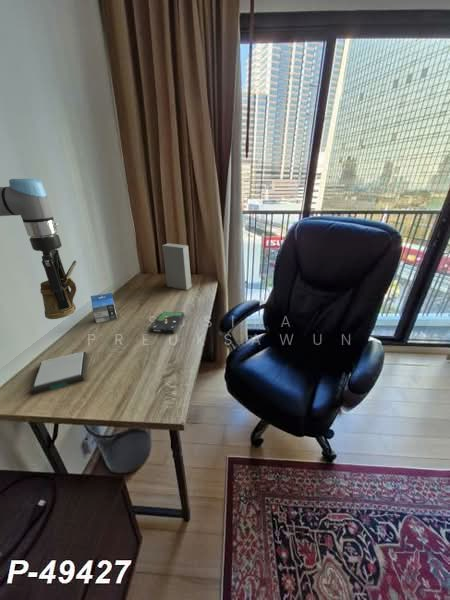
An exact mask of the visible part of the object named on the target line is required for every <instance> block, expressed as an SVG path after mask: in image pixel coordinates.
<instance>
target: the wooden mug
mask: <svg viewBox="0 0 450 600" xmlns="http://www.w3.org/2000/svg"><path fill="white" fill-rule="evenodd" d="M76 265H77V260H76V259H75V260H74V261H73V262H72V264H70V267H69V268H68V269H67V271H66V273H65V274H66V275H65V277H64V279H60V280H61V284H62V288H63V289H64V291H65V294H66V297H67V300H68V303H69V306H70V307H69V308H65V309H60V308H59V305H58V302H57V299H56V297H55V294H54V292H50V290H51V288H50V285H49V281H48V280H44V281H42V282H41V283H40V289H39V290H40V291H39V292H40V294H41V296H42V302H43V308H44V318H46V319H48V320H57V319H58V320H59V319H64V318H66V317H69V316H71V315H72V314H73V313H74V312H75V311H76V309H77V307H76V304H75V303H74V298H75V296H76V293H77V285H76V283H75V282H74V280H73V279H72V278H71V275H72V274H73V271H74V269H75V267H76ZM66 286H68V287H69V289H70V290H69V291H70V292H69V293H67V291H66V289H67V287H66Z"/></svg>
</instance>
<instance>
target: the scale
mask: <svg viewBox="0 0 450 600" xmlns="http://www.w3.org/2000/svg"><path fill="white" fill-rule="evenodd" d="M87 356H88V355H87V352H86V351H79V352H74V353H71V354H66V355H62V356H58V357H53V358H49V359H45V360H42V361H41V362H40V363H39V366H38V368H37V371H36V374H35V377H34V380H33V383H32V386H31V389H30V393H31V394H32V395H36V394H40V393H43V392H47V391H51V390H56V389H59V388H61V387H66V386H69V385H73V384H76V383H80V382H84V381H85V377H86V365H87Z"/></svg>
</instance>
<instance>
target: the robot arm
mask: <svg viewBox="0 0 450 600" xmlns="http://www.w3.org/2000/svg"><path fill="white" fill-rule="evenodd" d="M8 184H9V185H8V186H0V217H7V216H8V217H10V216H20V218H21V220H22V223H23V225H24V229H25V231H26V235H27V236H28V237H29V239H28V240H29V243H30V245H31V248H32V250H33V251H36V252H42V256H41V264H42V266H43V268H44V272H45V275H46V278H47V281H49V285H50V288H51V290H50V292H54V294H55V297H56V299H57V302H58V305H59V308H60V309H65V308H69V307H70V306H69V303H68V300H67V297H66V294H65V291H64V289H63V288H62V284H61V280H60V279H64V277H65V275H66V274H67V273H66V271H65V268H64V266H63V263H62V259H61V257H60V252H59V250H58V249H60V248H62V246H63V245H62V241H61V238H60V235H59V234H57V233H58V228H57V227H58V226H59V225H58V223H57V222H55V220H54V216H53V212H52V209H51V206H50V202H49V199H48V198H49V197H48V195H47V191H46V189H45V186H44V184H43V182H42V181H41V179H39V178H10V179H9V180H8ZM66 287H67V289H66V291H67V293H69V292H70V291H71V290H70V287H69V286H66Z"/></svg>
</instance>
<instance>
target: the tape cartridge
mask: <svg viewBox="0 0 450 600" xmlns="http://www.w3.org/2000/svg"><path fill="white" fill-rule="evenodd" d="M112 293H113V292H109V293H103V294H95V295H90V299H91V308H92V313H93V316H94V319H95V323H97V324H99V323H103V322H109V321H114V320H117V319H118V314H117V311H116V306H115V301H114V298H113V294H112Z"/></svg>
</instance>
